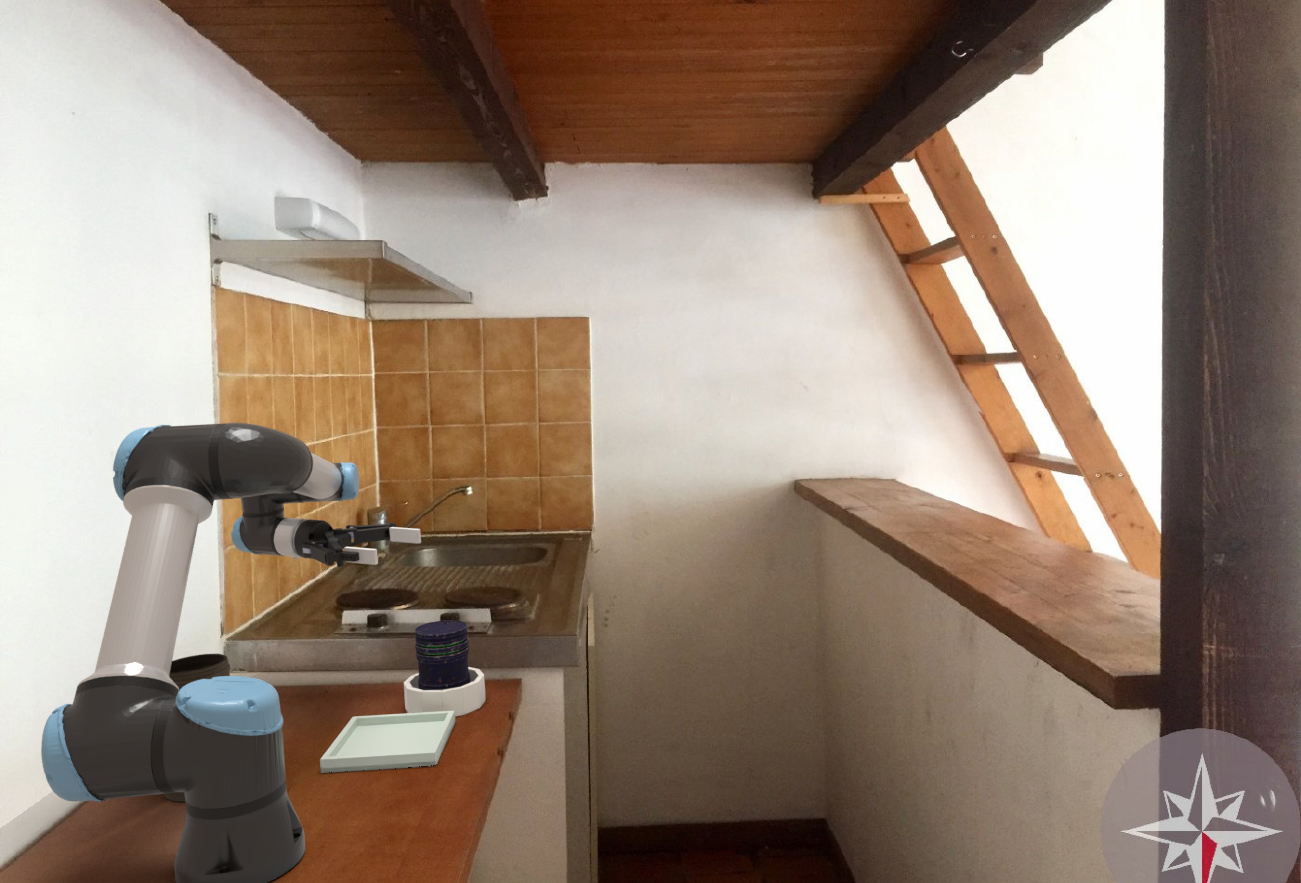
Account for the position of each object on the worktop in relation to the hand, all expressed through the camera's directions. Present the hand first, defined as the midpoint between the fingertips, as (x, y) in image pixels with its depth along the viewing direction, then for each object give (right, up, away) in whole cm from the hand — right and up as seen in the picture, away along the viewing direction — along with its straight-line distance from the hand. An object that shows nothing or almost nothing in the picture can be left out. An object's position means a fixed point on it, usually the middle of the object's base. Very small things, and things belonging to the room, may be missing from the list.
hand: (398, 546), depth 163 cm
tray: (+3, -32, -16) cm, 36 cm away
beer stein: (-25, -34, -28) cm, 50 cm away
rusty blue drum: (+8, -31, +3) cm, 32 cm away
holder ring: (+8, -30, +3) cm, 32 cm away
